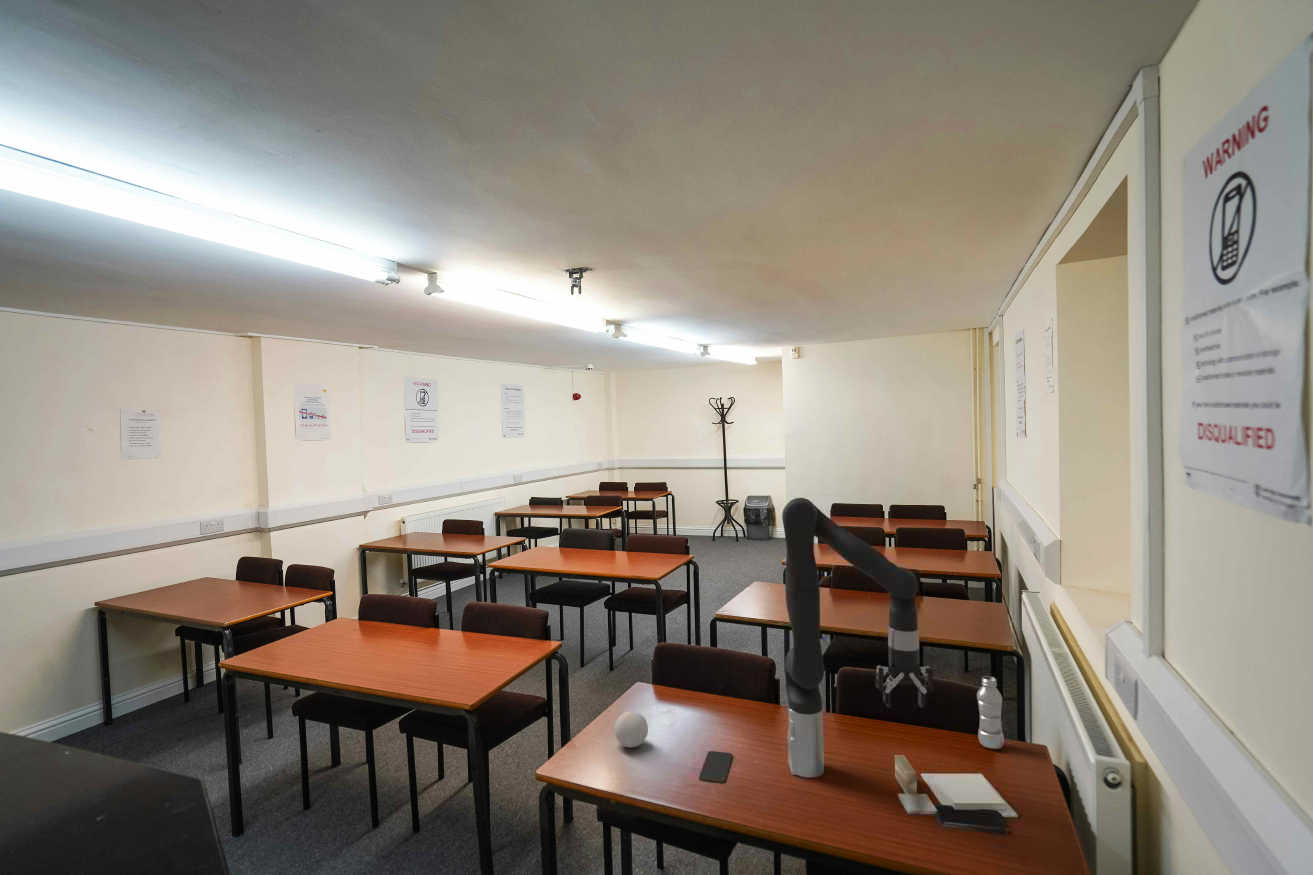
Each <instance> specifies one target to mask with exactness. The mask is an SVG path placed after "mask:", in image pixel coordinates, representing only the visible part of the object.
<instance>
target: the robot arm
mask: <svg viewBox="0 0 1313 875" xmlns="http://www.w3.org/2000/svg"><path fill="white" fill-rule="evenodd" d="M781 518H782V524H783V530H784V537H785V546H786V547H785V549H786V559H785V571H784V572H785V573H784V574H785V578H784V579H785V581H784V582H785V584H784V587H785V589H784V590H785V603H786V605H785V606H786V610H787V614H788V620H789V624H790V627H791V628H790V629H791V631H792V632H791V633H792V641H793V644H792V645H793V647H792V648H791V649H789V651H787V654H786V656H785V662H784V672H785V673H784V674H785V678H784V679H785V690H786V691H785V692H786V698H787V705H788V707H787V708H788V712H787V713H788V729H787V763H788V766H789V769H790V772H791V775H793V776H795V775H796V776H799V777H802V778H808V779H809V778H817V777H821V776H822V775H823V774H824V771H825V760H824V731H823V730H824V729H823V728H824V727H823V726H824V725H823V719H824V718H823V699H822V695H821V691H820V687H819V685H820V684H821V683H822V681H823V679H824V676H825V666H824V664H825V663H824V659H823V653H822V652H823V651H822V643H821V593H820V592H821V589H820V588H821V587H820V577H819V572H818V570H819V569H818V566H817V562H816V557H815V546H814V545H815V538H817V539H819V540H820V541H822V542H823V543H824V544H826V545H827V546H828V547H829V548H831V549H832V550H833V551H835V552H836V553H837V554H838V555H839V556H840V557H841V558H843V560H845V561H846V562H848V563H849V564H850V565H852V566H853V567H855V568H856V569H858V571H860V572H862V573H863V574H865V575H866V576H869V577H870V578H871V579H873V580H874V581H876V582H877V583H878V584H879V585H880V586H881V587H883V589H885V590H886V591H888V600H889V611H888V634H887V637H888V639H887V644H888V665H887V666H882V665H880V664H877V665H876V667H875V668H876V669H875V687H876V688H877V690H879V691H880V692H882V700H883V703H884V704H885V705H886V706H887V707H888V708H891V704H892V703H891V701H892V700H891V691H892V690H893V689H894V688H895V687H896V686H897V685H913V683H914V685H915V686H916V687H917V689H918V690H917V702H918V703H917V704H918V706H919V707H920V708H925V706H926V705H927V693H929V692H934V689H935V688H934V687H935V686H934V678H933V677H934V676H933V669H932V668H931V667H930V666H929V665H924V666H920V638H919V637H920V636H919V628H918V625H919V624H918V620H919V619H918V611H917V608H916V594H917V592H918V588H919V584H918V580H917V578H916V576H915V574H914V573H913V572H912V571H911V570H910V569H909V568H906V567H903V566H898V565H896V564H895V563H893V562H892V561H891V560H889V559H888V558H887V557H886V555H884V554H883V553H882V552H880V551H878V550H877V549H875V547H872V546H871V545H870V544H868V543H867V542H866V541H863V540H862V539H860V538H859V537H857V536H855V535H854V534H853V533H850V532H849V531H847V529H844V528H843V527H841V526H840V525H839V524H837V523H836V522H834V521H833V520H832V519H831V518H829V517H828V516H827V515H826V514H825V513H824V512H823V511H821V510H820V509H819V508H818V507H817V505H815V504H814V503H813V502H812V501H811V500H809V499H808V498H806V497H805V498H804V497H797V498H793V499H791V500H790V501H789V502H788V503H787V504H786V505H784V508H783V510H782V514H781ZM887 673H888V674H889V676H888V677H887V678H886V681H885V682H884V677H885V676H886V674H887ZM921 673H922V675H924V681H925V682H924V684H922V683H921V681H920V680H919V679H918V678H919V676H920V675H921Z"/></svg>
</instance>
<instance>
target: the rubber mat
mask: <svg viewBox="0 0 1313 875" xmlns="http://www.w3.org/2000/svg"><path fill="white" fill-rule="evenodd" d="M934 775H981V776H982V777H983V778H984V780H985V781H986V782H987V783H988V784H989V785H990V786H991V788H992V789H993V790H994V791H995V792H996V793H997V795H998V796H999V797H1000V798H1001V799H1002V800H1003V801H1004V803H1005V810H995V811H998V812H1000V813H1001V814H1002V816H1003V818H1019V815H1018V814H1017V812H1016V811H1015V810H1014V809H1013V808H1012V807H1011V806H1010V804H1008V802H1006V800H1005V799H1004V798H1003V797H1002V795H1001V794H1000V793H999V791H997V790H996V788H994V786H993V785H992V784H991V783H990V782H989V781H988V779H987V778H985V776H984V775H983V774H982V773H920V776H921V778H922V779H923V780H924V782H925V783H926V785H927V786H928V787H929V789H930V791H931V792H932V793H933V795H934V796H935V797H936V799H937V801H938V802H939V804H942V805H951V804H950V802H949V801H948V799H947V798H946V797H945V795H944V794H943V793H942V791H941V790H940V788H939V787H938V786H937V784H936V783H935V781H934ZM951 806H952V805H951Z"/></svg>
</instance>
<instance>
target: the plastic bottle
mask: <svg viewBox="0 0 1313 875" xmlns="http://www.w3.org/2000/svg"><path fill="white" fill-rule="evenodd" d="M997 686H998V685H997V678H995V677H994V676H989V675H988V676H986V675H984V676H982V677H981V686H980V688H979V689H978V691H977V693H976V698H977V704H978V710H979V712H978V713H979V728H978V731H977V732H978V733H977V734H978V735H977V737H978V738H977V739H978V742H980V744H981V745H982V746H983V747H984V748H987V749H990V750H1000V749H1002V748H1003V746H1004V742H1005V738H1004V737H1005V736H1004V733H1003V727H1002V718H1001V716H1002V705H1003V697H1002V694H1001V693H1000V691H999V689H998V688H997Z"/></svg>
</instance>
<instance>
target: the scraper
mask: <svg viewBox="0 0 1313 875" xmlns="http://www.w3.org/2000/svg"><path fill="white" fill-rule="evenodd" d="M894 776H895V779H896V781H897V783H898V784H899V786H900V787H901V789H902V791H903V792H904V793H898V794H897V798H898V799H899V801H900V803H901V804H902V806H903V808H904V810H905V811H906V812H907V814H908V815H936V811H937V809H936V808H935V806H934V805H935V804H933V802H932V801H931V799H930V797H929V795H928V794H927V793H917V791H918V789H917V788H918V786H917V782H918V781H917V779H918V778H917V772H916V771H915V769H914V768H913V766H912V764H910V762H909V760H908V759H907V758H906V756H905V755H904V754H894ZM937 812H938V811H937Z"/></svg>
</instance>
